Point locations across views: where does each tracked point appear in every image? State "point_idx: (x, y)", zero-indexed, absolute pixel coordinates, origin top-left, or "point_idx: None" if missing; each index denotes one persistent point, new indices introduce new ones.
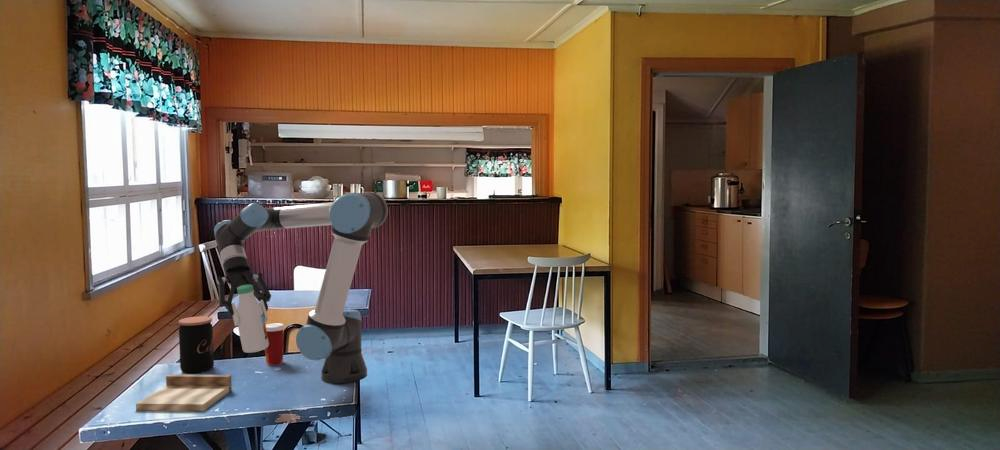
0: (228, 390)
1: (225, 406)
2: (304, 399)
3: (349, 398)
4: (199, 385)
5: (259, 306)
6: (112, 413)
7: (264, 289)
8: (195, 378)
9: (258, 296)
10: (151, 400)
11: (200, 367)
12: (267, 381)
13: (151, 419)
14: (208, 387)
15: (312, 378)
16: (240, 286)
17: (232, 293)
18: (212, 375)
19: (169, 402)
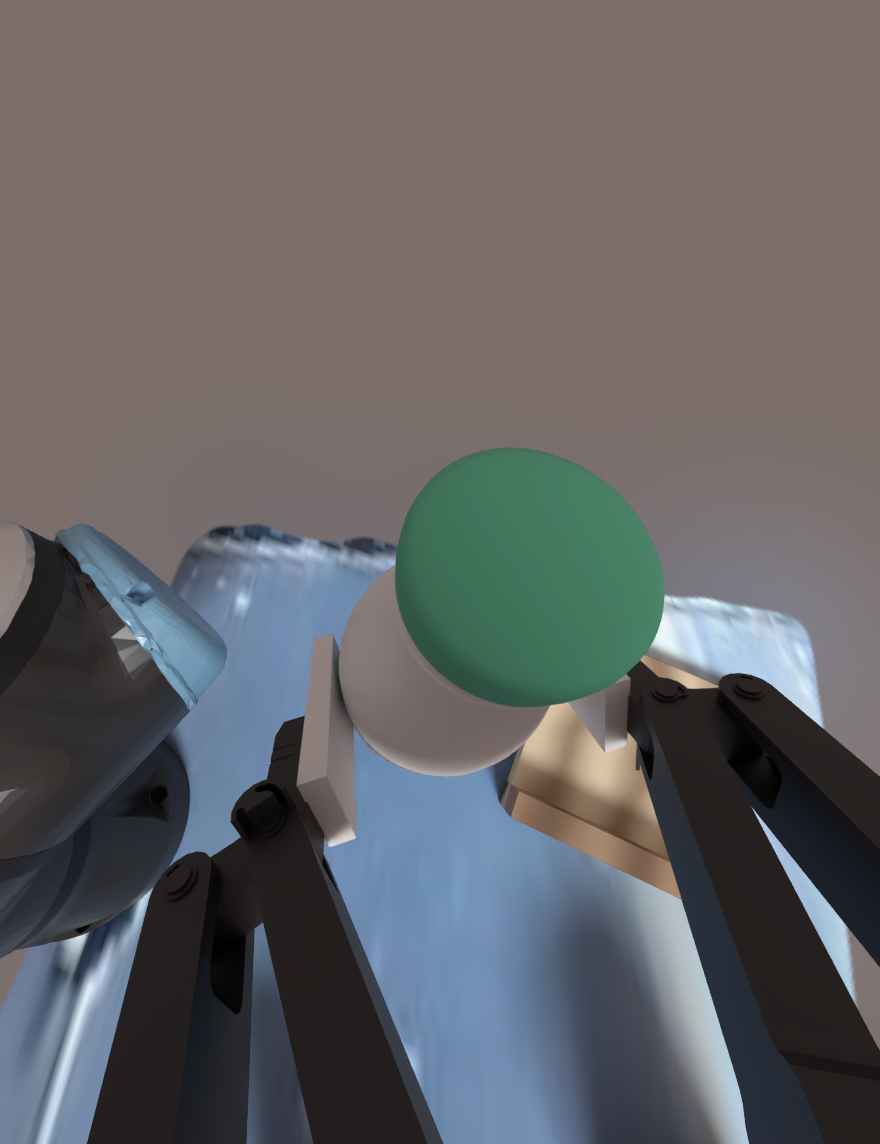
0: (509, 779)
1: None
2: (292, 617)
3: (175, 578)
4: (613, 832)
5: (360, 603)
6: (801, 701)
7: (177, 1051)
8: (640, 847)
9: (332, 889)
10: None
11: None
12: (378, 874)
13: (676, 611)
14: (577, 797)
15: (215, 846)
16: (622, 601)
17: (710, 821)
18: (581, 840)
19: (664, 675)
